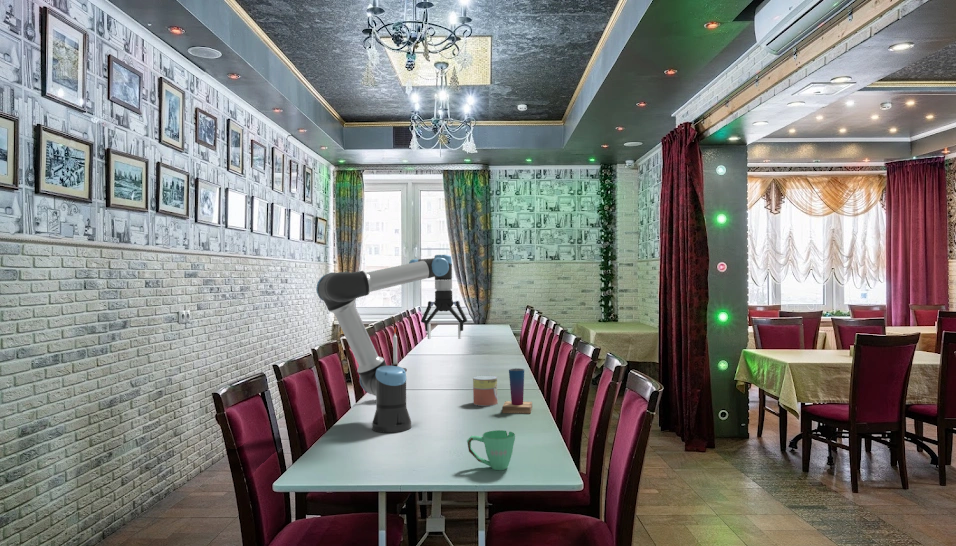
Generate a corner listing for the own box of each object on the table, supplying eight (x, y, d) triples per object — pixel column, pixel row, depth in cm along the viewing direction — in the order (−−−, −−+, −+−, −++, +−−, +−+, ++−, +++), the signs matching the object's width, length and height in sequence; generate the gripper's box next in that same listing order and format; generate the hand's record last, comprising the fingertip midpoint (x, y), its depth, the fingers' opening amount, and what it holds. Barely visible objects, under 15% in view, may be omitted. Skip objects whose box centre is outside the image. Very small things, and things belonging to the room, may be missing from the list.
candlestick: (409, 400, 281) (408, 327, 282) (387, 402, 277) (386, 328, 278) (404, 396, 291) (402, 325, 292) (382, 398, 287) (381, 326, 288)
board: (530, 413, 248) (530, 407, 248) (502, 412, 250) (502, 406, 250) (532, 407, 260) (532, 401, 260) (505, 406, 262) (505, 401, 262)
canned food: (496, 406, 264) (495, 379, 264) (471, 405, 266) (471, 379, 266) (499, 401, 275) (498, 375, 275) (475, 400, 277) (475, 375, 277)
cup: (515, 401, 260) (514, 367, 260) (528, 403, 256) (527, 369, 256) (506, 404, 255) (505, 369, 255) (519, 406, 250) (518, 371, 251)
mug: (515, 462, 182) (515, 430, 182) (515, 472, 172) (514, 438, 172) (468, 462, 183) (468, 430, 183) (465, 472, 173) (465, 438, 173)
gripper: (473, 289, 258) (474, 337, 257) (418, 290, 261) (418, 337, 261) (470, 289, 250) (471, 339, 250) (413, 290, 254) (414, 339, 254)
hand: (444, 338), depth 255 cm, fingers open, 13 cm apart
